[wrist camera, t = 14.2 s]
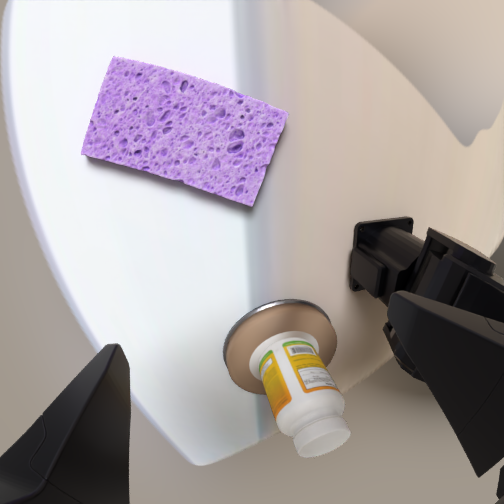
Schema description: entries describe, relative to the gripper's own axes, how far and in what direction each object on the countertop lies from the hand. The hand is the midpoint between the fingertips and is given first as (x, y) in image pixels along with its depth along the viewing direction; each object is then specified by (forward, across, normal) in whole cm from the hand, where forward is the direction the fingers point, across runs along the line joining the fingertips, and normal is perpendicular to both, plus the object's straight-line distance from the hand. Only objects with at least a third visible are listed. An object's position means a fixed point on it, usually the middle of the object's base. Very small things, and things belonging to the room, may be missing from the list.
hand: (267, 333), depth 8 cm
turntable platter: (+13, -4, +13) cm, 19 cm away
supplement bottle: (+11, -4, +13) cm, 18 cm away
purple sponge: (+14, +2, -6) cm, 15 cm away
